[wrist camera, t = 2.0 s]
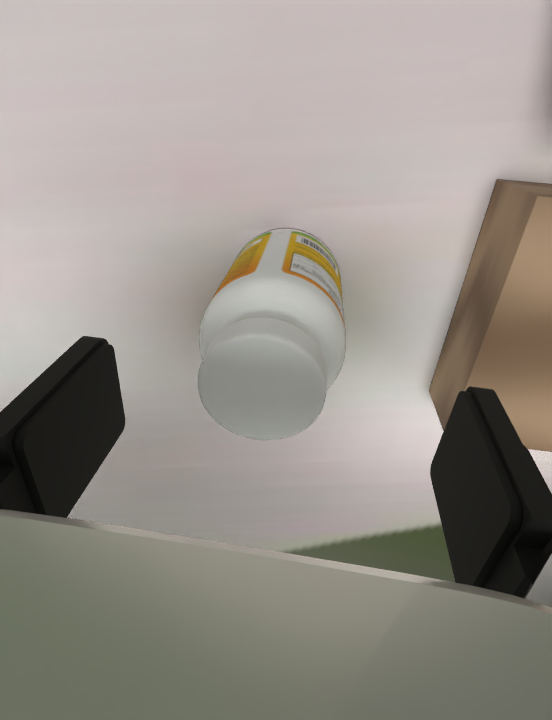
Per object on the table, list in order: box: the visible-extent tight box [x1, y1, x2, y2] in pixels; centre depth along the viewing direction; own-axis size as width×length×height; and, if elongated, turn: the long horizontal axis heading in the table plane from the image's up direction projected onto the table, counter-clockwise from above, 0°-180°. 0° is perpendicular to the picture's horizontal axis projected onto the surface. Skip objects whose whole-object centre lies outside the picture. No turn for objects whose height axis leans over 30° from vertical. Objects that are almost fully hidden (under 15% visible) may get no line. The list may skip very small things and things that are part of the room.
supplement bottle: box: [198, 229, 346, 440], centre depth 17 cm, size 5×5×10 cm
